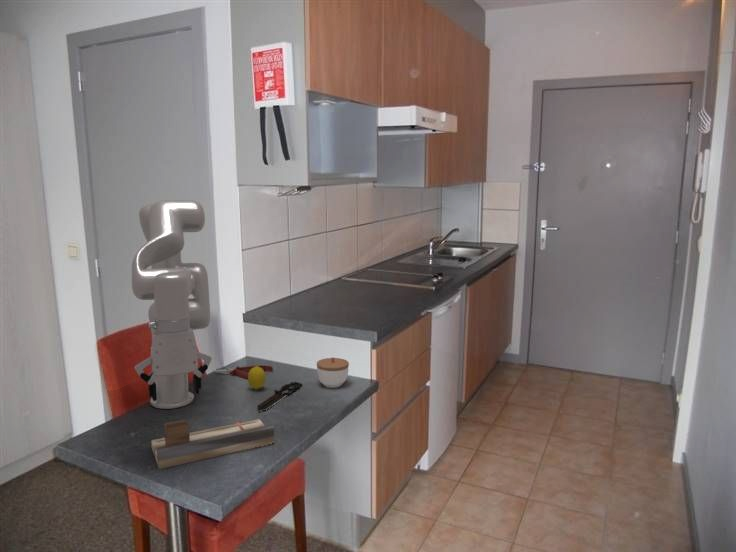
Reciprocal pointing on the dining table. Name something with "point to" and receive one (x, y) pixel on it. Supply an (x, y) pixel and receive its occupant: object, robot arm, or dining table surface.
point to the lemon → (256, 377)
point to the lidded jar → (332, 371)
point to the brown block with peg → (176, 432)
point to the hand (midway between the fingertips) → (175, 395)
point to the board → (213, 452)
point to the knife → (277, 395)
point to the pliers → (242, 370)
